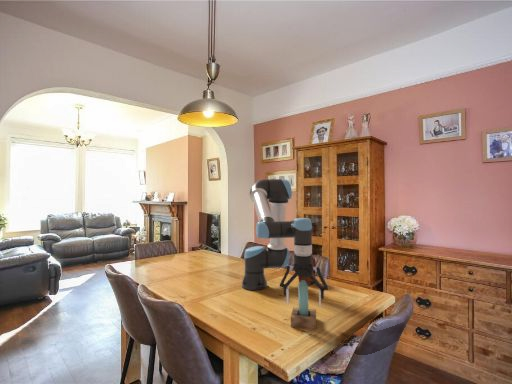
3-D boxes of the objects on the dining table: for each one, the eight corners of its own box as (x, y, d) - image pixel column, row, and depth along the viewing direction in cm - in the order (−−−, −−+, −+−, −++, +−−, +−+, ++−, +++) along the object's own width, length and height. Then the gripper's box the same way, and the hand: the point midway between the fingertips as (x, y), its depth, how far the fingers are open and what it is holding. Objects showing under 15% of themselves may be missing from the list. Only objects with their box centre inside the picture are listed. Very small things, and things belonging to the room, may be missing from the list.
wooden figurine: (304, 286, 163) (304, 256, 164) (297, 283, 168) (296, 254, 169) (318, 282, 170) (317, 253, 170) (310, 280, 175) (310, 252, 175)
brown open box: (290, 326, 112) (290, 317, 112) (293, 316, 121) (293, 307, 121) (315, 329, 109) (315, 319, 109) (316, 318, 119) (316, 309, 119)
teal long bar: (298, 324, 114) (297, 281, 114) (299, 320, 118) (298, 278, 118) (308, 325, 113) (307, 282, 113) (308, 321, 117) (308, 279, 117)
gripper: (272, 255, 115) (273, 305, 115) (333, 257, 110) (334, 310, 109) (275, 251, 123) (276, 299, 122) (333, 253, 117) (333, 303, 116)
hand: (303, 304), depth 116 cm, fingers open, 13 cm apart
